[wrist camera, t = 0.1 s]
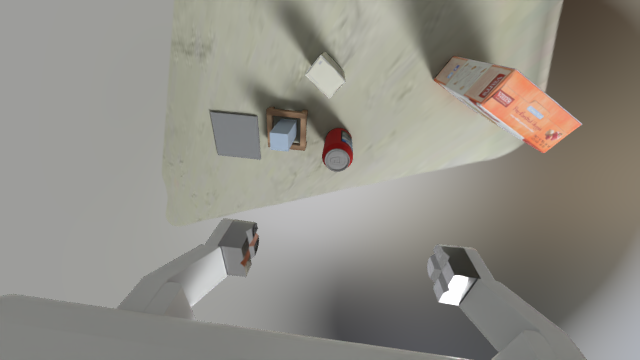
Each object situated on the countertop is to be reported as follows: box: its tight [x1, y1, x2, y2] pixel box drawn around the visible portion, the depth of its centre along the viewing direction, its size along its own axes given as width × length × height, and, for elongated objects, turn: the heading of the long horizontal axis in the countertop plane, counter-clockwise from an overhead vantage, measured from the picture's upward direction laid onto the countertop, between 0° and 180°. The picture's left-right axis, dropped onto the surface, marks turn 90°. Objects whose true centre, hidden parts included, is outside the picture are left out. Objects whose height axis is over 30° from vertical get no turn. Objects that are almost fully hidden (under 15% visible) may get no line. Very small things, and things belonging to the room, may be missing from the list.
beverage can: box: [322, 128, 353, 172], centre depth 53 cm, size 7×7×12 cm
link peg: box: [270, 119, 297, 151], centre depth 54 cm, size 4×4×10 cm
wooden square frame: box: [266, 107, 308, 151], centre depth 57 cm, size 9×9×3 cm
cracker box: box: [434, 56, 582, 153], centre depth 41 cm, size 14×6×21 cm, turn 59°
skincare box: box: [305, 52, 345, 99], centre depth 45 cm, size 6×4×12 cm
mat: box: [210, 112, 261, 160], centre depth 61 cm, size 12×12×1 cm
